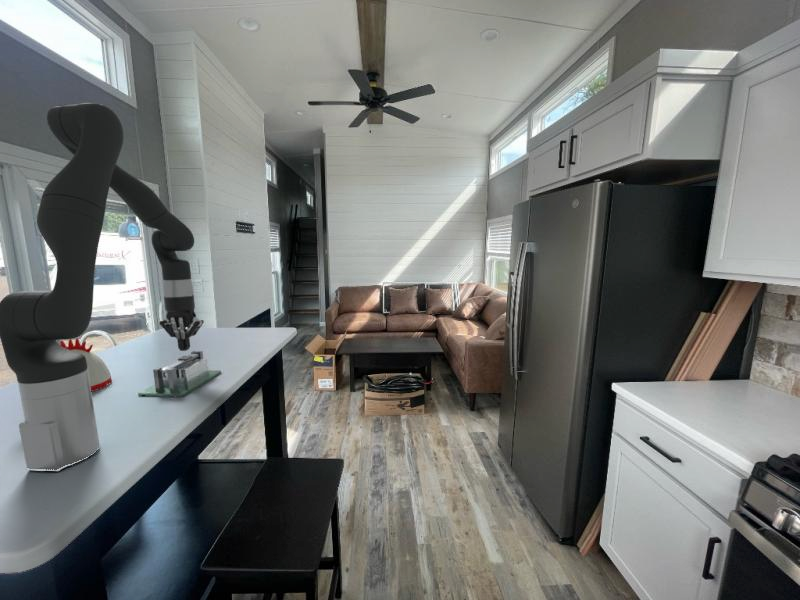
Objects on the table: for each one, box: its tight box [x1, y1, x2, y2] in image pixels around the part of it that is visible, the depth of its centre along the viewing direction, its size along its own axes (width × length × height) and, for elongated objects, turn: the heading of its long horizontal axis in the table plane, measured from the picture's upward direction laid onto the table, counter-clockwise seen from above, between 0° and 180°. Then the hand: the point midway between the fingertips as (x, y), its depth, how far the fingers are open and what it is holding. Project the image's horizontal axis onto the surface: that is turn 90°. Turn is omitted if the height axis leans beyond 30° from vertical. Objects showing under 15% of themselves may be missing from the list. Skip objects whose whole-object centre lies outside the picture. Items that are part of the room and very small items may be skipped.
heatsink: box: [137, 350, 222, 398], centre depth 100 cm, size 18×13×8 cm
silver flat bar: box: [159, 353, 198, 373], centre depth 99 cm, size 13×3×1 cm, turn 177°
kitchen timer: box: [59, 337, 112, 392], centre depth 97 cm, size 14×14×15 cm
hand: (184, 350), depth 101 cm, fingers closed
